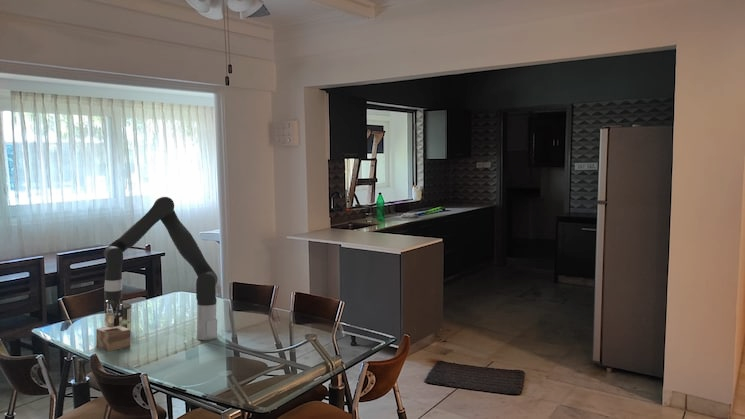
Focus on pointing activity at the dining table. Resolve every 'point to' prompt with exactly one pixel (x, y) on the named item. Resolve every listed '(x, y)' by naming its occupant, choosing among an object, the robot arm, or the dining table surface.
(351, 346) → the dining table surface
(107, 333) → the walnut stand
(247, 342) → the dining table surface
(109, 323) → the birch cube
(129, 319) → the coffee can
